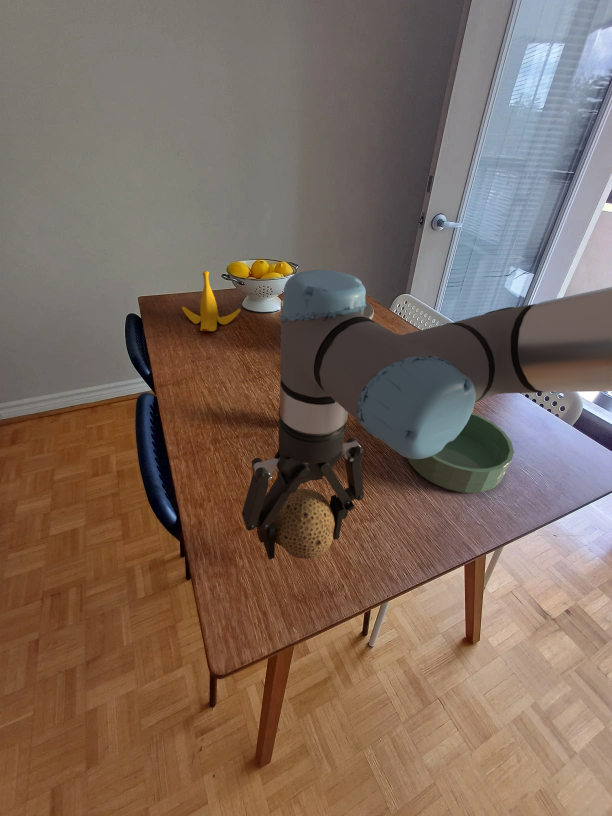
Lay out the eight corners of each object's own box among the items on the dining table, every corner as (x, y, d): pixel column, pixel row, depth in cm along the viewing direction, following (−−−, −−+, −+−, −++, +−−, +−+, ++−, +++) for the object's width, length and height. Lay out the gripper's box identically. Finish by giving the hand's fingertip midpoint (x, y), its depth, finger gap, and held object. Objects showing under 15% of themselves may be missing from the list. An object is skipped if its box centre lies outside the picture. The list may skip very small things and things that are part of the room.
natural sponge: (344, 557, 57) (353, 511, 51) (291, 586, 53) (294, 540, 47) (310, 513, 63) (315, 468, 58) (260, 536, 59) (260, 490, 53)
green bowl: (524, 480, 78) (536, 458, 74) (442, 505, 71) (451, 482, 68) (459, 422, 92) (466, 400, 89) (386, 438, 86) (391, 416, 82)
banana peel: (183, 315, 132) (177, 264, 122) (241, 317, 133) (239, 266, 123) (172, 337, 118) (164, 281, 108) (237, 339, 120) (234, 284, 110)
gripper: (381, 384, 50) (357, 503, 64) (207, 414, 43) (220, 541, 56) (414, 418, 45) (380, 541, 58) (221, 459, 38) (232, 588, 51)
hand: (301, 541), depth 57 cm, fingers closed on natural sponge, 9 cm apart
